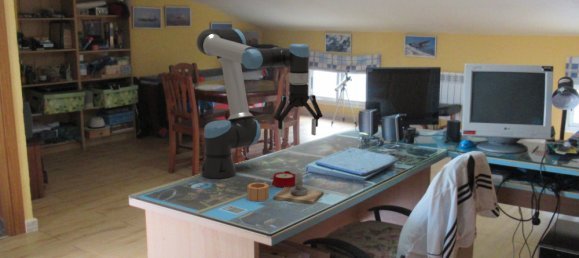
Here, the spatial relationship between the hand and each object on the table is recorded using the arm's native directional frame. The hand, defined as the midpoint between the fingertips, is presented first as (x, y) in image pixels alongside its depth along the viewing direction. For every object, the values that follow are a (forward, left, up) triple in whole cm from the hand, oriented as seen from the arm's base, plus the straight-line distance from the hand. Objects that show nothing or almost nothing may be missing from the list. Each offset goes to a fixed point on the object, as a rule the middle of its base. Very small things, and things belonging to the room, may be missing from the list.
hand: (298, 136), depth 232 cm
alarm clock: (-6, +4, -22) cm, 23 cm away
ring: (-9, -19, -22) cm, 30 cm away
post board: (+5, -11, -22) cm, 25 cm away
